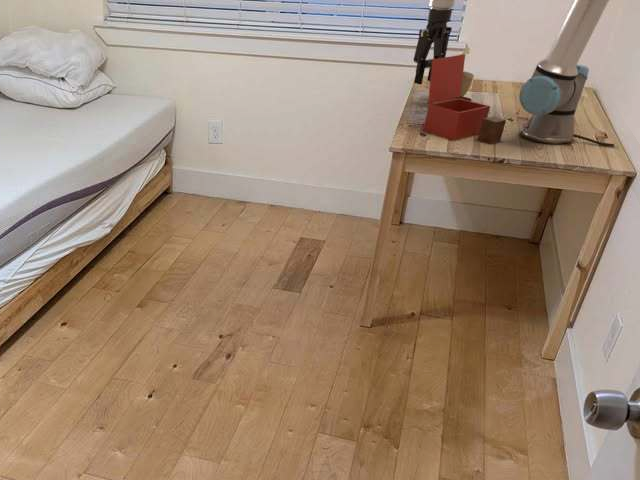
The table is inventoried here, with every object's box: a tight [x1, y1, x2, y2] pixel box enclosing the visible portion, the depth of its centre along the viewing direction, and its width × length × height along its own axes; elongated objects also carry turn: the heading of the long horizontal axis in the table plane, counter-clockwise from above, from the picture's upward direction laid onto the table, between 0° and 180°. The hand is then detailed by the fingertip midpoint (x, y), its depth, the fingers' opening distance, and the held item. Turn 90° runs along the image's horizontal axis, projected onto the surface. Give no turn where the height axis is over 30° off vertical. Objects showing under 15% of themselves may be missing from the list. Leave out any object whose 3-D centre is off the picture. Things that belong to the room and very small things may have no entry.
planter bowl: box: [427, 70, 475, 104], centre depth 260 cm, size 16×16×11 cm
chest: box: [422, 98, 491, 141], centre depth 230 cm, size 13×16×9 cm
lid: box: [424, 53, 466, 104], centre depth 231 cm, size 14×16×8 cm
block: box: [477, 115, 507, 145], centre depth 222 cm, size 5×5×7 cm
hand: (424, 82), depth 236 cm, fingers closed on lid, 6 cm apart
